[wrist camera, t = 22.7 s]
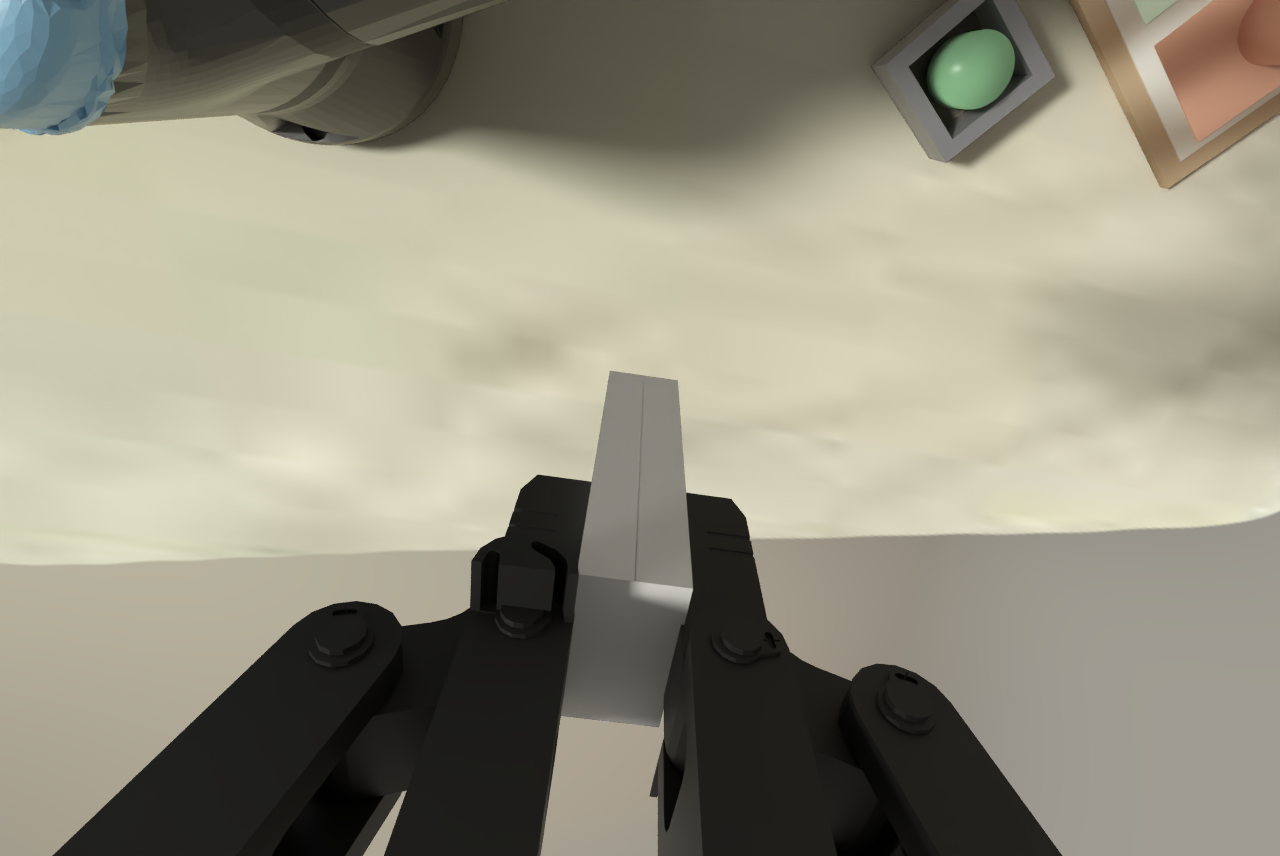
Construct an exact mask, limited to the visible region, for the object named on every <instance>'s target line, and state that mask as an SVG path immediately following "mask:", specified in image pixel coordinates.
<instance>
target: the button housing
mask: <svg viewBox="0 0 1280 856" xmlns="http://www.w3.org/2000/svg"><path fill="white" fill-rule="evenodd" d="M972 11H974V12H975V14H976V16H977V18H978V20H979V22H980V23H981V25H982V27H983V29H991V30H996V31H998V32H1000V33H1002V34H1004V35H1005V36H1006V37H1007V38H1008V39H1009V41H1010V42H1011V44H1012V47H1013V50H1014V54H1015V65H1014V71H1013V74H1012V77H1011V79H1010V81H1009V83H1008V85H1007V87H1006V88H1005V90H1004V91H1003V92H1002V93H1001V94H1000V96H999V97H997V98H996V99H995V100H994V101H993V102H991V103H990V104H988V105H986V106H984V107H981V108H978V109H968V110H966V111H965V112H964V113H963V114H961V115H960V116H959V117H958V118H956V119H955V120H954V121H953V122H952V123H950V124H949V125H948V126H947V127H945V126H944V124H943V123H942V121H941V120H940V118H939V116H938V115H937V113H936V111H935V110H934V108H933V106H932V105H931V103H930V101H929V100H928V98H927V96H926V95H925V93H924V92H923V90H922V88H921V87H920V85H919V83H918V82H917V80H916V78H915V77H914V75H913V73H912V72H911V70H910V68H909V66H910V65H911V64H912V63H913V62H914V61H916V60H917V59H918V58H919V57H920V56H921V55H923V54H924V53H925V52H926V51H927V50H928V49H929V48H931V47H932V46H933V45H934V44H935V43H936V42H938V41H939V40H940V39H941V38H942V37H943V36H945V35H946V34H947V33H948V32H949V31H950V30H951V29H953V28H954V27H955V26H956V25H957V24H958V23H960V22H961V21H962V20H963V19H964V18H965V17H967V16H968V15H969V14H970V13H971V12H972ZM871 67H872V68H873V70H874V72H875V73H876V75H877V76H878V78H879V79H880V81H881V83H882V84H883V86H884V87H885V89H886V91H887V92H888V94H889V95H890V97H891V99H892V100H893V102H894V103H895V105H896V106H897V108H898V110H899V111H900V113H901V114H902V116H903V118H904V119H905V121H906V122H907V124H908V126H909V127H910V129H911V130H912V132H913V133H914V135H915V137H916V138H917V140H918V141H919V143H920V145H921V146H922V148H923V149H924V151H925V152H926V154H927V156H928V157H929V158H930V159H934V160H938V161H942V162H948V161H949V160H950V159H952V158H953V157H954V156H955V155H957V154H958V153H959V152H960V151H962V150H963V149H964V148H965V147H967V146H968V145H969V144H971V143H972V142H973V141H974V140H976V139H977V138H978V137H979V136H981V135H982V134H983V133H984V132H986V131H987V130H988V129H989V128H991V127H992V126H993V125H995V124H996V123H997V122H998V121H1000V120H1001V119H1002V118H1003V117H1005V116H1006V115H1007V114H1008V113H1010V112H1011V111H1012V110H1014V109H1015V108H1016V107H1017V106H1019V105H1020V104H1021V103H1022V102H1024V101H1025V100H1026V99H1027V98H1029V97H1030V96H1031V95H1033V94H1034V93H1035V92H1036V91H1038V90H1039V89H1040V88H1041V87H1043V86H1044V85H1045V84H1046V83H1048V82H1049V81H1050V80H1052V79H1053V78H1054V77H1055V75H1054V73H1053V71H1052V69H1051V67H1050V65H1049V63H1048V61H1047V59H1046V58H1045V56H1044V54H1043V52H1042V50H1041V48H1040V46H1039V44H1038V42H1037V40H1036V38H1035V36H1034V34H1033V32H1032V31H1031V29H1030V27H1029V25H1028V23H1027V21H1026V19H1025V17H1024V15H1023V13H1022V11H1021V9H1020V7H1019V6H1018V4H1017V2H1016V0H946V1H945V2H944V3H943V4H942V5H941V6H939V7H938V8H937V9H936V10H935V11H934V12H933V13H931V14H930V15H929V16H928V17H927V18H926V19H925V20H924V21H922V22H921V23H920V24H919V25H918V26H917V27H916V28H914V29H913V30H912V31H911V32H910V33H909V34H908V35H907V36H905V37H904V38H903V39H902V40H901V41H900V42H899V43H897V44H896V45H895V46H894V47H893V48H892V49H891V50H890V51H888V52H887V53H886V54H885V55H884V56H883V57H882V58H880V59H879V60H878V61H877V62H876V63H875V64H874V65H873V66H871Z"/></svg>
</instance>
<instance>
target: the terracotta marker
mask: <svg viewBox="0 0 1280 856" xmlns="http://www.w3.org/2000/svg"><path fill="white" fill-rule="evenodd" d="M1238 45H1239V50H1240V52H1241V54H1242V56H1243V57H1244V58H1245V59H1246V60H1247V61H1248V62H1250V63H1252V64H1255V65H1260V66H1266V65H1280V0H1254V2H1253V3H1252V4H1251V6H1250V7H1249V8H1248V10H1247V12H1246V14H1245V15H1244V18H1243V20H1242V22H1241V25H1240V29H1239V34H1238Z"/></svg>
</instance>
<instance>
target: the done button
mask: <svg viewBox="0 0 1280 856" xmlns="http://www.w3.org/2000/svg"><path fill="white" fill-rule="evenodd" d="M1014 65H1015V54H1014V50H1013V47H1012V44H1011V42H1010V41H1009V39H1008V38H1007V37H1006V36H1005V35H1004V34H1002V33H1000V32H998V31H996V30H991V29H983V30H977V31H972V32H966V33H961V34H958V35H955V36H953V37H951V38H950V39H948V40H947V41H945V42H944V43H943V44H942V45H941V46H940V47H939V48H938V50H937V51H936V52H935V54H934V55H933V57H932V59H931V61H930V64H929V67H928V71H927V87H928V90H929V93H930V95H931V97H932V98H933V99H934V101H935V102H937V103H938V104H939V105H941V106H943V107H946V108H954V109H978V108H981V107H984V106H986V105H988V104H990V103H991V102H993V101H994V100H995V99H996V98H997V97H999V96H1000V94H1001V93H1002V92H1003V91H1004V90H1005V88H1006V87H1007V85H1008V83H1009V81H1010V79H1011V77H1012V74H1013V71H1014Z"/></svg>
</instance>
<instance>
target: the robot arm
mask: <svg viewBox="0 0 1280 856" xmlns="http://www.w3.org/2000/svg"><path fill="white" fill-rule="evenodd" d="M505 1H508V0H0V128H3V129H19V130H21V131H23V132H26V133H28V134H33V135H43V134H50V135H62V134H67V133H71V132H75V131H78V130H81V129H82V128H84V127H85V126H91V125H105V124H119V123H133V122H147V121H161V120H175V119H190V118H204V117H218V116H232V115H238V116H240V117H242V118H244V119H246V120H248V121H250V122H251V123H253V124H255V125H257V126H259V127H261V128H263V129H265V130H267V131H270V132H272V133H274V134H277V135H280V136H282V137H285V138H289V139H292V140H296V141H300V142H305V143H311V144H318V145H347V144H354V143H359V142H365V141H370V140H375V139H378V138H382V137H384V136H387V135H390V134H392V133H394V132H396V131H398V130H400V129H402V128H403V127H405V126H406V125H408V124H409V123H411V122H412V121H413V120H415V119H416V118H417V117H418V116H419V115H420V114H422V113H423V112H424V111H425V110H426V108H427V107H428V106H429V105H430V104H431V103H432V101H433V100H434V99H435V98H436V96H437V95H438V93H439V92H440V90H441V89H442V87H443V85H444V83H445V81H446V80H447V77H448V75H449V73H450V71H451V68H452V66H453V63H454V60H455V57H456V53H457V50H458V46H459V41H460V36H461V29H462V20H463V16H465V15H468V14H471V13H473V12H476V11H479V10H482V9H485V8H488V7H491V6H494V5H496V4H499V3H502V2H505ZM470 601H471V602H470V608H469V609H467V610H466V611H464V612H463V613H461V614H458V615H456V616H453V617H451V618H448V619H445V620H440V621H436V622H431V623H423V624H416V625H408V626H401V625H400V623H399V622H398V620H397V619H396V617H395V616H394V614H393V613H392V612H390V611H388V610H387V609H384V608H383V607H381V606H379V605H377V604H372V603H365V602H359V601H354V602H345V603H337V604H332V605H330V606H327V607H324V608H322V609H319V610H316V611H314V612H312V613H310V614H309V615H307V616H306V617H305V618H303V619H302V620H300V621H299V622H297V623H296V624H295V625H293V626H292V627H291V628H290V629H289V630H288V631H287V632H286V633H285V634H284V635H283V636H282V637H281V638H280V639H279V640H278V641H277V642H276V643H275V644H274V645H272V646H271V647H270V648H269V649H268V650H267V651H266V652H265V653H264V654H263V655H262V656H261V657H260V658H259V659H258V660H257V661H256V662H255V663H254V664H253V665H251V666H250V667H249V668H248V670H246V671H245V672H244V673H243V674H242V675H241V676H240V677H239V678H238V679H237V680H236V681H235V682H234V683H233V684H232V685H231V686H230V687H229V688H227V690H225V691H224V692H223V693H222V694H221V695H220V696H219V697H218V698H217V699H216V700H215V701H214V702H213V703H212V704H211V705H210V706H209V707H208V708H207V709H206V710H204V711H203V712H202V714H200V715H199V716H198V717H197V718H196V719H195V720H194V721H193V722H192V723H191V724H190V725H189V726H188V727H187V728H186V729H185V730H184V731H183V732H182V733H180V734H179V735H178V736H177V737H176V738H175V739H174V740H173V741H172V742H171V743H170V744H169V745H168V746H167V747H166V748H165V749H164V750H163V751H162V752H161V753H160V754H158V755H157V756H156V757H155V758H154V759H153V760H152V761H151V762H150V763H149V764H148V765H147V766H146V767H145V768H144V769H143V770H142V771H141V772H140V773H139V774H138V775H136V776H135V777H134V778H133V779H132V780H131V781H130V782H129V783H128V784H127V785H126V786H125V787H124V788H123V789H122V790H121V791H120V792H119V793H118V794H117V795H116V796H114V798H112V799H111V800H110V801H109V802H108V803H107V804H106V805H105V806H104V807H103V808H102V809H101V810H100V811H99V812H98V813H97V814H96V815H95V816H94V817H93V818H91V819H90V820H89V821H88V822H87V823H86V824H85V825H84V826H83V827H82V828H81V829H80V830H79V831H78V832H77V833H76V834H75V835H74V836H73V837H72V838H71V839H70V840H69V841H68V842H66V843H65V844H64V845H63V846H62V847H61V848H60V849H59V850H58V851H57V852H56V853H55V854H54V855H53V856H363V854H364V853H365V851H366V849H367V848H368V846H369V845H370V843H371V841H372V840H373V838H374V836H375V835H376V833H377V832H378V830H379V828H380V827H381V825H382V824H383V822H384V821H385V819H386V817H387V816H388V814H389V813H390V811H391V809H392V808H393V806H394V805H395V803H396V801H397V800H398V798H399V797H400V795H401V792H402V791H406V790H407V792H406V795H405V797H404V800H403V803H402V806H401V809H400V812H399V815H398V817H397V820H396V823H395V826H394V829H393V831H392V834H391V837H390V840H389V843H388V846H387V849H386V851H385V854H384V856H540V855H541V848H542V842H543V835H544V828H545V821H546V815H547V808H548V800H549V794H550V787H551V781H552V774H553V767H554V760H555V753H556V746H557V739H558V731H559V724H560V718H561V716H567V717H576V718H584V719H592V720H601V721H609V722H618V723H626V724H635V725H644V726H652V727H659V726H660V721H661V717H662V713H663V709H664V740H663V743H662V747H661V751H660V755H659V759H658V763H657V767H656V771H655V775H654V779H653V783H652V787H651V792H650V796H651V797H657V796H658V856H1062V855H1061V853H1060V852H1059V851H1058V849H1057V848H1056V846H1055V845H1054V844H1053V842H1052V841H1051V840H1050V838H1049V837H1048V835H1047V834H1046V833H1045V831H1044V830H1043V829H1042V827H1041V826H1040V825H1039V823H1038V822H1037V820H1036V819H1035V818H1034V816H1033V815H1032V813H1031V812H1030V811H1029V809H1028V808H1027V807H1026V805H1025V804H1024V803H1023V801H1022V800H1021V799H1020V797H1019V796H1018V794H1017V793H1016V792H1015V790H1014V789H1013V787H1012V786H1011V785H1010V783H1009V782H1008V781H1007V779H1006V778H1005V776H1004V775H1003V774H1002V772H1001V771H1000V770H999V768H998V767H997V765H996V764H995V763H994V761H993V760H992V759H991V757H990V756H989V754H988V753H987V752H986V750H985V749H984V748H983V746H982V745H981V743H980V742H979V741H978V740H977V738H976V737H975V735H974V734H973V733H972V731H971V730H970V728H969V727H968V726H967V724H966V723H965V722H964V720H963V719H962V717H961V716H960V715H959V713H958V712H957V711H956V709H955V708H954V706H953V705H952V704H951V702H950V701H949V700H948V699H947V698H946V697H945V696H944V695H943V694H942V693H941V692H940V691H939V690H938V689H937V687H935V686H934V685H933V684H931V683H930V682H928V681H927V680H925V679H924V678H922V677H921V676H919V675H918V674H916V673H914V672H911V671H909V670H906V669H904V668H901V667H898V666H895V665H885V664H874V665H871V666H868V667H865V668H862V669H861V670H860V671H859V672H858V673H857V674H856V675H855V677H854V678H853V679H852V681H850V680H847V679H845V678H842V677H840V676H837V675H835V674H832V673H829V672H827V671H824V670H821V669H819V668H817V667H814V666H813V665H810V664H808V663H806V662H804V661H802V660H801V659H799V658H798V657H797V656H795V655H794V654H792V653H790V651H789V648H788V646H787V644H786V642H785V639H784V637H783V635H782V634H781V633H780V632H779V631H778V630H777V629H776V628H775V627H774V626H773V625H772V624H771V623H770V622H769V621H768V620H767V617H766V612H765V607H764V603H763V598H762V593H761V588H760V583H759V578H758V574H757V569H756V564H755V559H754V557H753V550H752V545H751V541H750V535H749V530H748V526H747V521H746V517H745V516H744V514H743V513H742V512H741V511H740V509H739V508H738V507H737V506H736V504H735V503H734V502H733V501H732V499H728V498H721V497H713V496H706V495H699V494H691V493H686V486H685V473H684V459H683V445H682V432H681V418H680V405H679V391H678V380H671V379H664V378H657V377H650V376H643V375H636V374H629V373H622V372H615V371H610V373H609V379H608V385H607V392H606V398H605V404H604V410H603V416H602V422H601V428H600V434H599V441H598V447H597V453H596V459H595V465H594V471H593V477H592V482H588V481H581V480H574V479H566V478H559V477H551V476H544V475H537V476H536V477H534V478H533V479H532V480H531V481H530V482H529V483H527V484H526V485H525V486H524V487H523V488H522V489H521V490H520V493H519V496H518V499H517V502H516V505H515V508H514V512H513V514H512V517H511V520H510V523H509V527H508V529H507V532H506V535H505V537H501V538H497V539H495V540H493V541H491V542H490V543H488V544H486V545H485V546H483V547H482V548H480V550H479V551H478V552H477V554H476V555H475V557H474V558H473V560H472V562H471V599H470Z"/></svg>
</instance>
